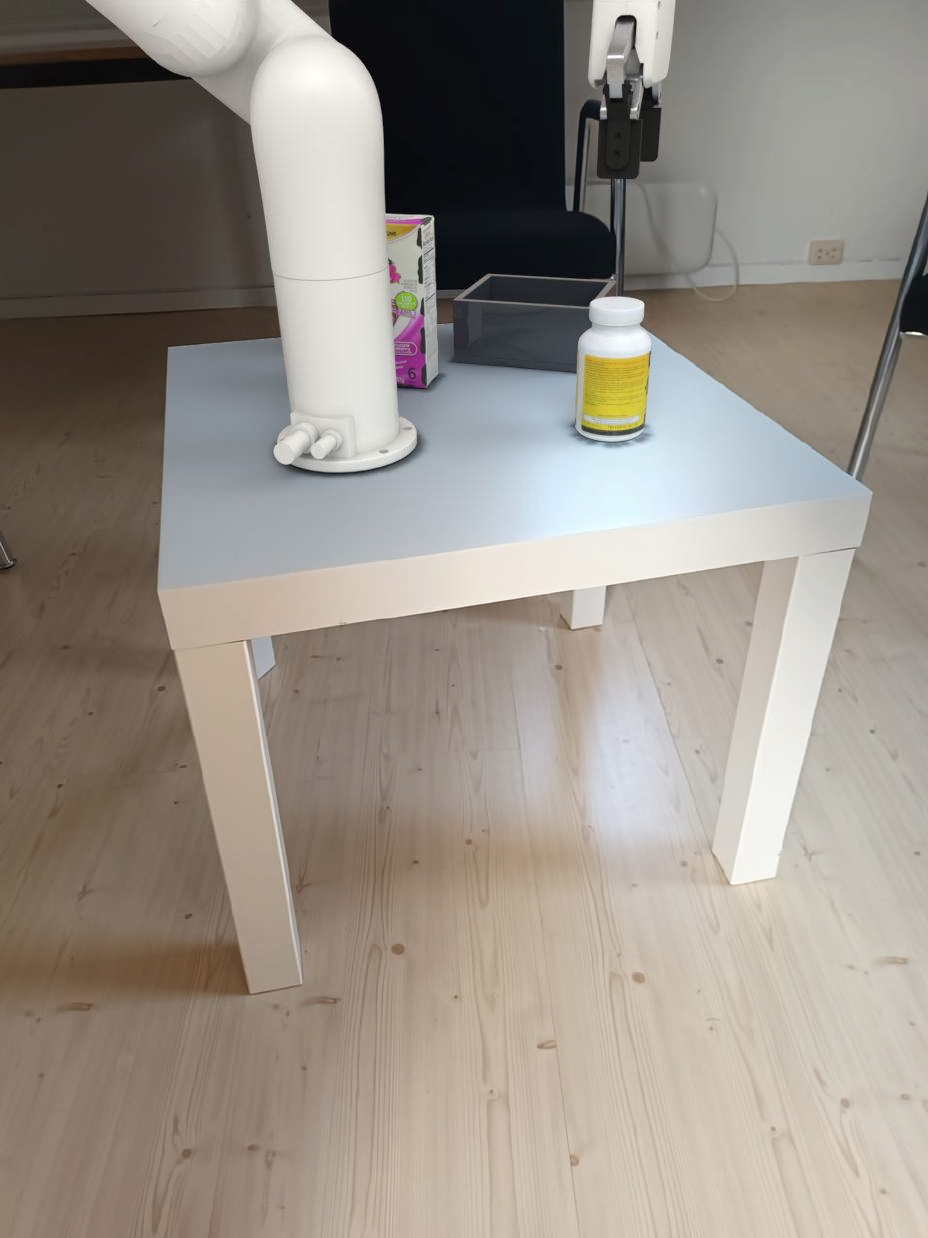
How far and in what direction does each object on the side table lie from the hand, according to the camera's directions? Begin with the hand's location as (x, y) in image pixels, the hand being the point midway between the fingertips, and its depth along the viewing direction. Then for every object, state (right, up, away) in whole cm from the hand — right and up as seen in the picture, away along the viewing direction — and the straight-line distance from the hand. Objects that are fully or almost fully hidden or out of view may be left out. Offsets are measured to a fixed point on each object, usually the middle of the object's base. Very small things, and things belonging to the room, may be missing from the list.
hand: (628, 169), depth 75 cm
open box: (-5, -5, +32) cm, 33 cm away
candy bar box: (-22, -11, +25) cm, 35 cm away
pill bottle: (0, -19, +11) cm, 22 cm away
